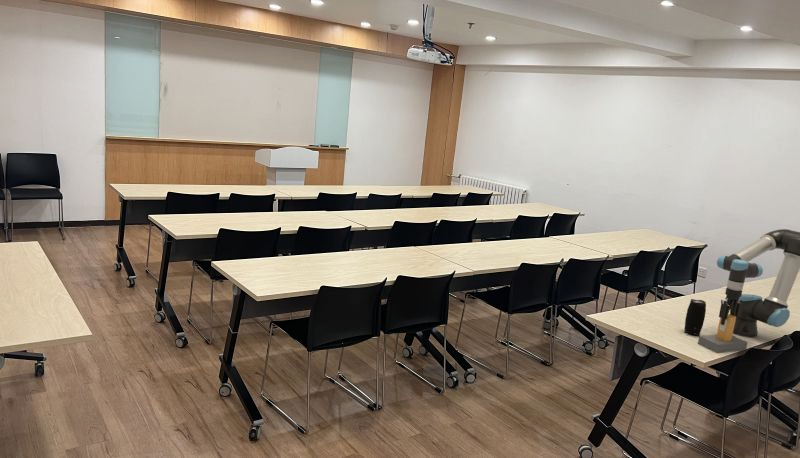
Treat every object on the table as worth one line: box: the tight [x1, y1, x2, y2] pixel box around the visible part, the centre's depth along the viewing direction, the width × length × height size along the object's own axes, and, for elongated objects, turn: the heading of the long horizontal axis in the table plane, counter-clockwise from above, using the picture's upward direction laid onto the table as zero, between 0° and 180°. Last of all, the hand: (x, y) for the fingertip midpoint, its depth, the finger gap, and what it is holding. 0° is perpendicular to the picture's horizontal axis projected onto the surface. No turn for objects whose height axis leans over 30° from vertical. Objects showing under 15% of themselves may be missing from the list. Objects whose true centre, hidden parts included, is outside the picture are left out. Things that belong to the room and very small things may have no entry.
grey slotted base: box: [697, 334, 748, 354], centre depth 319 cm, size 12×22×4 cm, turn 112°
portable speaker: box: [684, 298, 707, 337], centre depth 335 cm, size 9×9×20 cm
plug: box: [715, 313, 736, 342], centre depth 318 cm, size 6×4×14 cm, turn 22°
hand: (725, 330), depth 318 cm, fingers closed on plug, 4 cm apart
